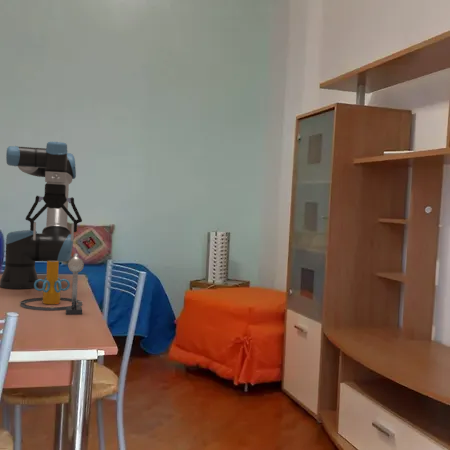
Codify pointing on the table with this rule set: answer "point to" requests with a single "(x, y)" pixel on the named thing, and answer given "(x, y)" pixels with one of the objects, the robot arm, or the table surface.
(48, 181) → the robot arm
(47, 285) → the cylinder
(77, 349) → the table surface
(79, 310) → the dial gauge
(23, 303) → the centring ring
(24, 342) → the table surface
